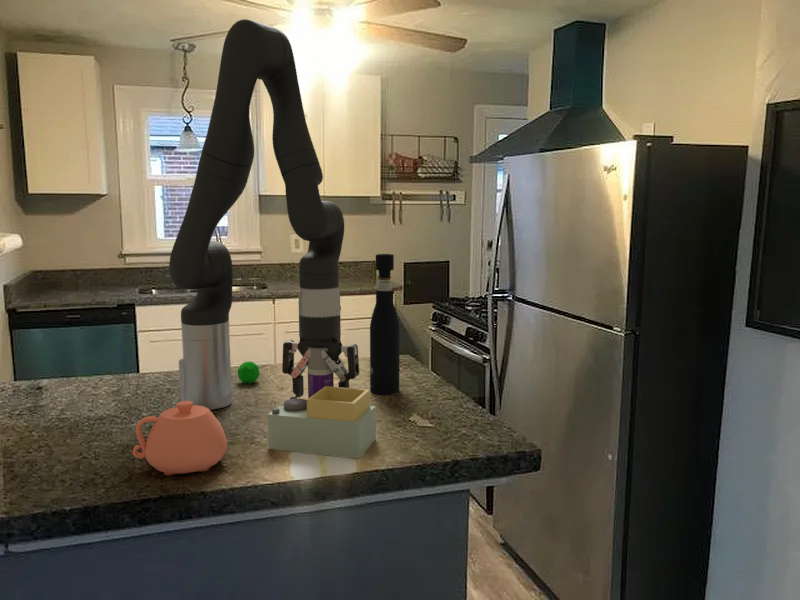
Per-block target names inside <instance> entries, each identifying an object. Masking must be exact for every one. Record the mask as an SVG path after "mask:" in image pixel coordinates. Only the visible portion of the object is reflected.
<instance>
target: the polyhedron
mask: <svg viewBox="0 0 800 600" xmlns="http://www.w3.org/2000/svg"><path fill="white" fill-rule="evenodd" d="M260 373H261V372H260V369H259V365H258V364H256V363H255V362H253V361H244V362H243V363H242V364H240V365H239V366H238V369H237V377H238V379H239V380H240V382H242V383H244V384H252V383H254V382H256V381H257V380H258V379H259V377H260Z"/></svg>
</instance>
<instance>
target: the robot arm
mask: <svg viewBox="0 0 800 600" xmlns="http://www.w3.org/2000/svg"><path fill="white" fill-rule="evenodd" d="M297 73H298V72H297V67H296V62H295V57H294V52H293V47H292V45H291V43H290V40H289V38H288V36H287V35H286V34H285V33H284V32H283V31H282V30H280V29H278V28H276V27H273V26H271V25H267V24H265V23H262V22H259V21H256V20H252V19H248V18H247V19H246V18H244V19H240V20H238V21H236V22H234V24H233V25H231V27H230V28H229V30H228V32H227V34H226V36H225V39H224V43H223V46H222V51H221V57H220V65H219V72H218V77H217V84H216V91H215V97H214V102H213V106H212V111H211V114H210V115H211V116H210V119H209V124H208V129H207V132H206V135H205V140H204V143H203V146H202V150H201V154H200V158H199V161H198V164H197V169H196V176H195V178H194V183H193V186H192V190H191V194H190V197H189V200H188V204H187V207H186V211H185V214H184V216H183V220H182V222H181V225H180V227H179V229H178V233H177V235H176V239H175V241H174V244H173V247H172V249H171V251H170V252H171V253H170V256H169V264H168V265H169V266H168V268H169V275H170V279H171V281H172V283H173V284H174V285H175V286H176V287H177V288H178V289H181V290H188V291H189V290H197V293H196V295H195V297H194V298H193V299H192V300H191V301H190V302H189V303H187V304H186V305H185V306H184V307H182V309H181V311H180V323H181V325H180V326H181V340H182V341H181V342H182V343H181V344H182V358H180V359H179V361H178V373H179V377H178V378H179V392H180V393H179V394H180V402H181V401H191V402H193V405H198V406H204V407H206V408H208V409H209V410H210V411H211V410H217V409H218V410H219V409H222V408H225V407H228V406H229V405H231V404H232V403H233V401H232V400H233V399H232V398H233V397H232V396H233V395H232V394H233V392H232V367H231V366H232V365H231V364H232V363H231V341H230V340H231V339H230V338H231V337H230V317H229V316H230V311H231V309H232V304H233V279H234V278H233V275H234V274H233V270H234V269H233V261H232V256H231V254H230V251H229V249H228V248H227V246H226V245H225V244H224V243H222V242H220V241H217V240H216V241H215V240H212V237H213V235H214V232H215V230H216V228H217V226H218V224H219V223H220V222H221V220H222V219H223V218H224V216H225V215H226V214H227V213H228V211H230V209H231V208H232V207H233V206H234V204H236V202H237V201H238V200H239V198H240V197H241V195H242V194H243V192H244V190H245V188H246V187H247V184H248V180H249V177H250V174H251V173H250V172H251V169H252V167H253V163H254V162H253V161H254V157H255V143H254V136H253V131H252V125H251V118H250V107H251V102H252V99H253V94H254V89H255V86H256V83H257V80H261V81H262V83H263V85H264V87H265V89H266V91H267V93H268V95H269V98H270V102H271V105H272V113H273V114H272V115H273V116H272V117H273V120H272V121H273V122H272V123H273V124H272V139H271V140H272V147H273V152H274V156H275V160H276V163H277V165H278V168H279V172H280V174H281V179H282V180H283V183H284V187H285V188H284V189H285V200H286V208H287V215H288V220H289V223H290V227H291V228H292V230H293V232H294V233H295V234H296V235H297V236H298V237H299V238H300V239H302V240H303V241H307V242H308V248H307V249H308V250H307V252H306V253H305V254H304V255H303V256H302V257H301V258H300V260H299V264H298V265H299V266H298V269H299V271H298V272H299V275H298V277H299V278H298V279H299V292H298V293H299V294H298V337H299V342H297V341H295V340H293V339H290V340H287V341H285V342H284V343H283V344H282V369H281V371H282V374H284V375H286V374H287V375H289V376H290V377H291V379H292V393H293V395H295V396H294V397H297V398H301V397H303V395H304V392H305V390H304V388H305V387H304V375H302V374H303V373H304V372H305V370H307V369H308V360H309V359H310V356H311V350H310V349H309V350H308V347H320V348H328V351H325V350H322V359H323V360H325V362H326V363H327V365H328V366H329V367H330V369H331V370H332V372H333V374H335V375H336V376H337V379H339V381H338V387H342V388H350V380H353V379H356V378H357V377H358V376H359V375H360V362H359V361H360V360H359V348H358V345H357V344H356V343H353V344H351V345H350V344H349V345H344V344H342V341H341V336H342V335H341V334H342V333H341V332H342V331H341V328H342V327H341V326H342V325H341V311H342V306H341V296H340V290H339V289H340V285H339V284H340V283H339V279H340V278H339V276H340V275H339V261H340V256H341V254H342V253H341V252H342V248H343V240H344V236H345V235H344V234H345V219H344V215H343V212H342V210H341V208H340V207H339V206H338V205H337V204H336V203H334V202H332V201H330V200H321V199H322V198H321V195H320V189H319V186H320V184H322V181H323V178H324V175H323V170H322V167H321V164H320V161H319V158H318V155H317V152H316V149H315V146H314V144H313V141H312V137H311V134H310V131H309V128H308V124H307V121H306V120H307V119H306V114H305V111H304V106H303V105H304V104H303V101H302V100H303V99H302V96H301V95H302V93H301V89H300V85H299V80H298V78H299V77H298V74H297ZM297 350H298V352H299V354H300V355H301V356H302V357H301V359H300V360H299V361H298V363H297V364H296V366H294V365H295V353H296V352H297ZM342 353H343V354H344V357H345V358H347V367H348V368H346V366H345V363H344V362H343V360H342V359H341V357H340V355H341V354H342Z"/></svg>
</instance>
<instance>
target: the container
mask: <svg viewBox="0 0 800 600" xmlns="http://www.w3.org/2000/svg"><path fill="white" fill-rule="evenodd" d="M309 349H310V350H311V356H310V359H309V360H308V367H307V393H308V394H307V399H308V398H310V397H311V396H312V395H314V394H315V393H317V392H318V391H319V390H321V389H322V388H324V387H325V386H330V387H335V386H334V372H332V370H331V369H330V367H329V366H328V365H327V363H326V362H325V360H323V359H322V350H325V351H328V348H320V347H308V350H309Z"/></svg>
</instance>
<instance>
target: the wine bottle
mask: <svg viewBox="0 0 800 600" xmlns="http://www.w3.org/2000/svg"><path fill="white" fill-rule="evenodd" d="M394 261H395V259H394V254H391V253H379V254H377V253H376V254H375V271H378V280H379V281H377V283H376V285H377V287H376V288H377V289H376V291H375V305H374V308H373V311H372V314H371V318H370V325H369V387H370V388H369V390H370V393H372V394H375V395H379V396H387V395H388V396H389V395H395V394H398V393H400V321H399V316H398V313H397V309H396V307H395V303H394V290H393V282H392V281H390V280H391V279H392V278H391V271H394V269H395V268H394V267H395V266H394V264H395V263H394Z"/></svg>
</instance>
